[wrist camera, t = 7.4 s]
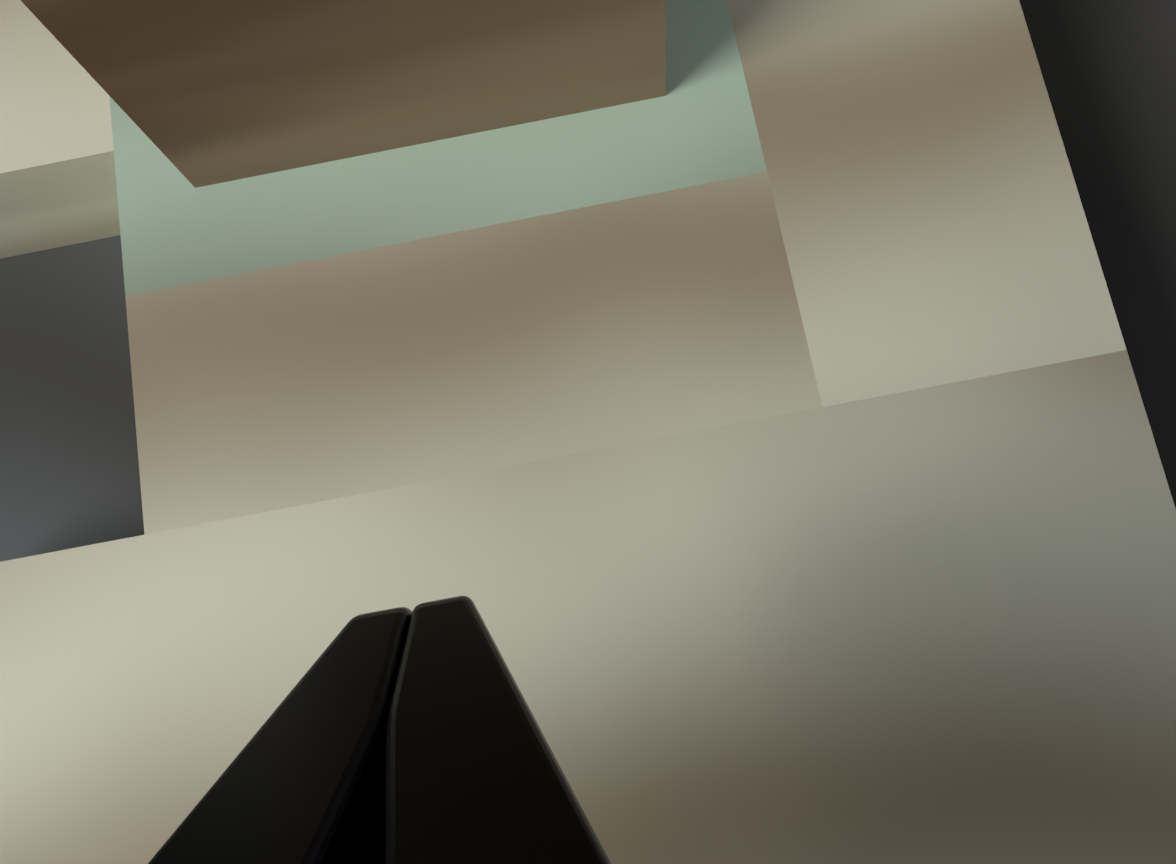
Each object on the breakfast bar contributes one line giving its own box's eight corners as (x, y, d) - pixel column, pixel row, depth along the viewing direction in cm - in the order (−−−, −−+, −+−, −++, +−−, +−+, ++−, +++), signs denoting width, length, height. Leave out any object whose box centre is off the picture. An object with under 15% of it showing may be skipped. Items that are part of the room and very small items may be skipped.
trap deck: (1292, 1239, 13) (1440, 1366, 10) (19, 1449, 13) (-129, 1617, 11) (850, -303, 18) (877, -458, 16) (-50, -117, 18) (-159, -240, 16)
